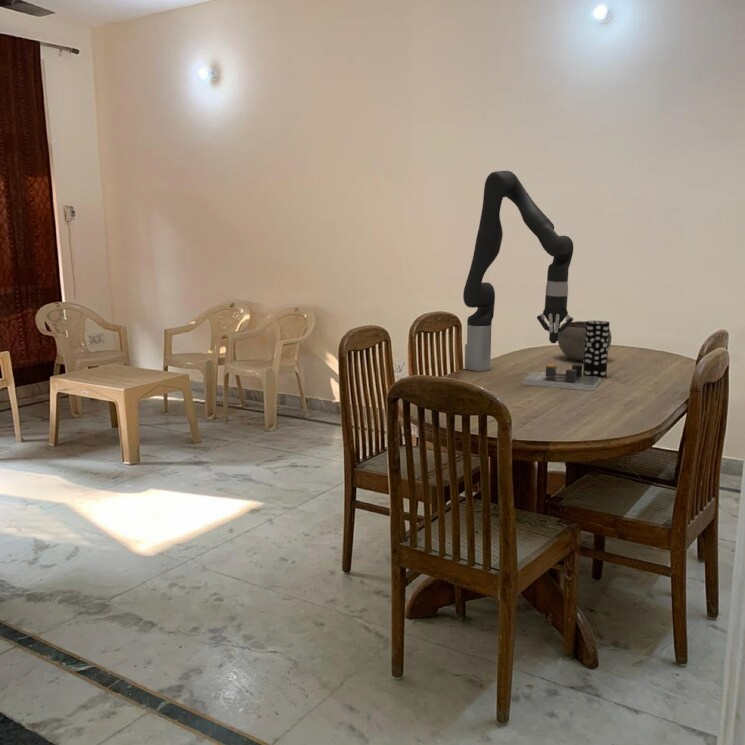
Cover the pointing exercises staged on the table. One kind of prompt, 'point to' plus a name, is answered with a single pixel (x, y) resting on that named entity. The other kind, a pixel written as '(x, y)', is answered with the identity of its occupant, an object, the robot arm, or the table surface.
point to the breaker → (551, 370)
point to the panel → (564, 379)
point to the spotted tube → (596, 348)
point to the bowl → (574, 340)
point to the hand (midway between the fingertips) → (553, 342)
